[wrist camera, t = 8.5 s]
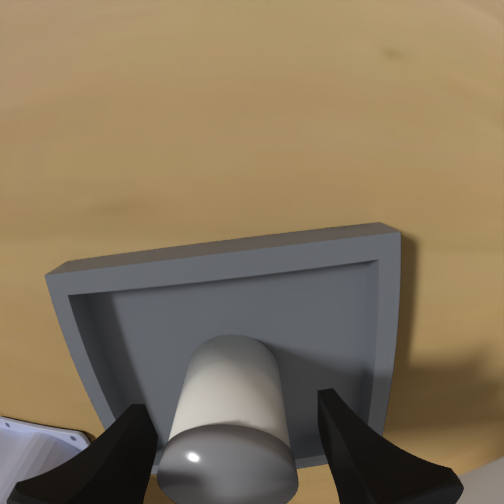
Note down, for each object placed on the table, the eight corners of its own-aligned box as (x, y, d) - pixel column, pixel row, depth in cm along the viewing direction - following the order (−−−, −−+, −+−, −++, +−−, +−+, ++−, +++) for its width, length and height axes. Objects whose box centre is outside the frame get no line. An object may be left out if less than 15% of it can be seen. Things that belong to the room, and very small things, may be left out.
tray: (137, 448, 17) (129, 472, 15) (67, 261, 14) (44, 275, 12) (368, 428, 17) (378, 452, 15) (379, 222, 14) (400, 231, 12)
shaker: (200, 410, 16) (182, 518, 9) (175, 339, 15) (134, 448, 8) (286, 400, 16) (303, 510, 9) (273, 325, 14) (291, 438, 8)
